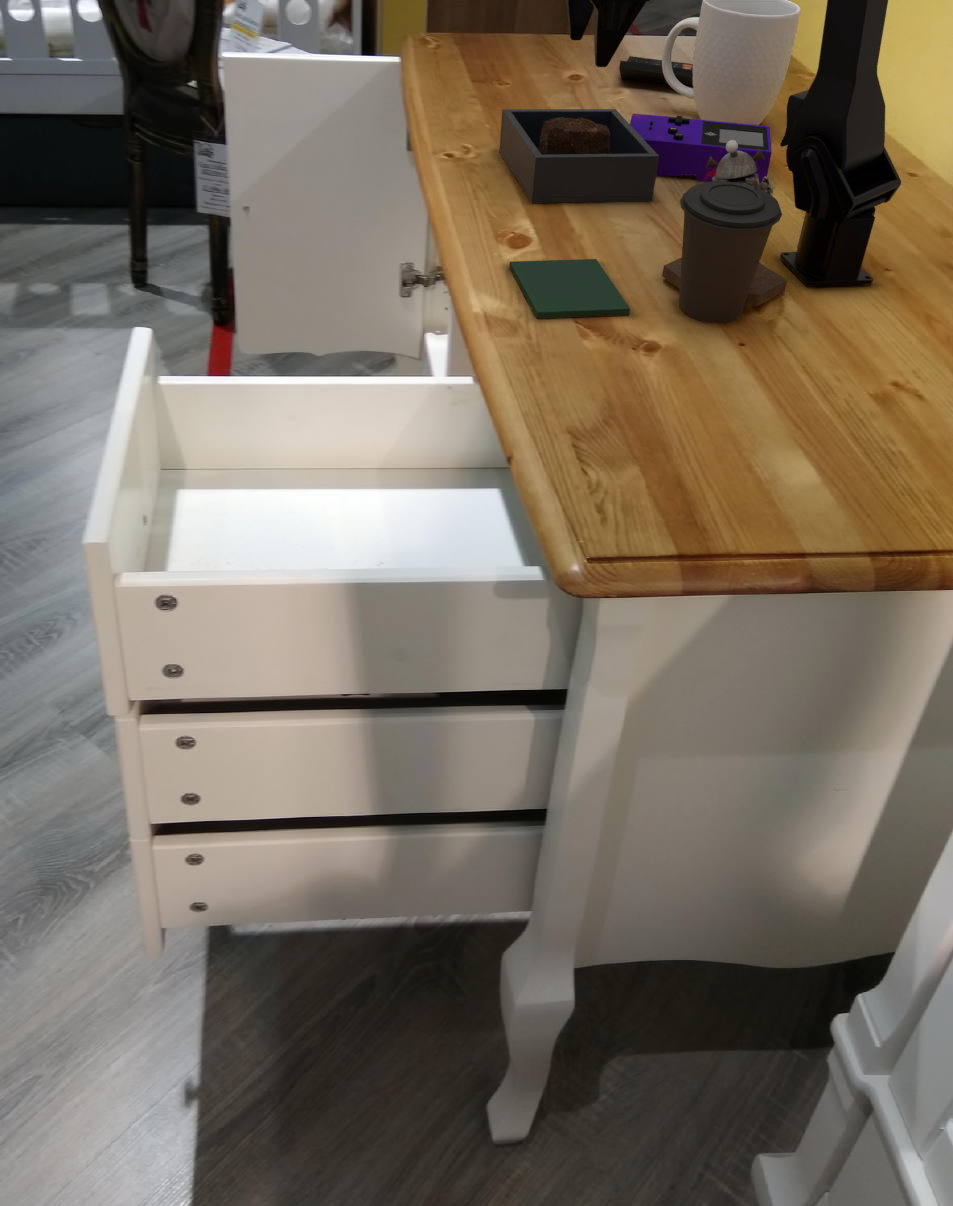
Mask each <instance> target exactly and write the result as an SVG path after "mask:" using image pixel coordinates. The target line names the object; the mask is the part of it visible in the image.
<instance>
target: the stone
mask: <svg viewBox="0 0 953 1206" xmlns="http://www.w3.org/2000/svg"><path fill="white" fill-rule="evenodd" d="M610 137H611V134H610V131H609V129H608V127H607V126H605V125H601V124H597V123H594V122H593V121H591V120H588V119H585V118H579V119H573V118H564V117H559V118H554V119H550V120H547V121H545V122H544V125H543V127H542V131H541V134H540V139H539V147H538V151H539V152H540V153H541V155H559V154H610Z"/></svg>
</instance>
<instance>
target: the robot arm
mask: <svg viewBox="0 0 953 1206" xmlns="http://www.w3.org/2000/svg"><path fill="white" fill-rule="evenodd" d="M650 1H651V0H565V8H566V15H567V16H566V17H567V23H568V33H569V38H570V40H571V41H582V39H583V37H584V34H585V32H586V30H587V28H588V25H589V22H590V20H591V18H592V15H593V30H594V31H593V37H594V39H593V40H594V41H593V43H594V44H593V46H594V65H595V66H596V67H597V68H606V67H608V65H609V64H610V62H611V60H612V59H613V57H614V55H615V53H616V52H617V50H618V48H619V47H620V45H621V43H622V42H623V40H624V38H625V36H626V34H627V33H628V31H629V30H630V28H631V27H632V25H633V23H634V22H635V20H636V19H637V17H638V16H639V14H640V12H641V11H642V10H643V8H644V6H645V4H646V3H647V2H650ZM888 4H889V0H827V1H826V9H825V15H824V23H823V30H822V35H821V43H820V51H819V57H818V64H817V65H818V66H817V71H816V74H815V75H814V78H813V80H812V82H811V84H810V86H809V88H808V89H806V90H803V91H799V92H797V93H793V94H790V95H789V96H788V100H787V105H786V127H785V131H784V136H783V137H782V139H781V141H780V145H779V146H780V147H781V148H783V147H786V151H785V161H786V166H787V169H788V171H789V172H791V173H792V183H793V197H794V205H795V208H796V209H797V210H800V211H803V212H805V214H804V218H803V221H802V226H801V230H800V235H799V239H798V242H797V246H796V251H782V252H780V256H779V259H780V260H781V261H782V262H783V263H784V264H785V265H786V266H787V267H788V268H789V269H790V270H791V272H793V274H794V275H796V277H798V278H799V280H800V281H801V282H802V283H803V284H804V285H806V286H807V287H833V286H834V287H838V286H865V285H866V286H867V285H872V284H873V281H874V277H873V276H872V275H871V274H870V273H868V271H866V270H865V269H864V268H863V267H862V266H863V263H864V258H865V255H866V252H867V250H868V249H867V248H868V245H869V241H870V238H871V235H872V231H873V227H874V223H875V221H876V216H875V214H876V212H877V211H876V207H877V206H879V205H881V204H886V203H888V202H890V201H891V199H892V198H893V197H894V195H895V194H896V193H897V191H898V190H899V188H900V187H901V185H902V180H901V177H900V176H899V173H898V171H897V169H896V167H895V165H894V163H893V161H892V158H891V157H890V155H889V153H888V151H887V149H886V145H885V141H886V102H885V99H884V94H883V91H882V88H881V85H880V84H881V83H880V79H879V77H878V65H879V60H880V59H879V58H880V52H881V46H882V42H883V41H882V40H883V36H884V35H883V34H884V30H885V23H886V17H887V10H888Z"/></svg>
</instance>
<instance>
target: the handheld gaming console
mask: <svg viewBox="0 0 953 1206" xmlns="http://www.w3.org/2000/svg"><path fill="white" fill-rule="evenodd" d="M629 124H630V125H631V126H632V127H633V128H634V130H635V131H636V132H637V133H638V134H639V135H640V136H641V137H642V138H643V139H644V140H645V141H646V143H647V144H648V145H649V146H650V147H651V148H652V149H653V150H654V151H655V152H656V153H657V154H658V155H659V160H658V167H657V173H656V176H661V177H679V176H694V178H695V180H697V181H699V182H702V183H705V182H712V181H713V180H712V177H716V169H717V167H710V168H708V169H706V167H707V163H708V160H709V158H710V156H711V157H712V159H713V160H714V161H715V162H716V163H719V162H720V160H721V159H722V158H723V157H724V156H725V155H726V154H728V151H727V150H726V144H727V143H728V142H729V141H730V140H734V141H736V142H737V144H738V149H737V151H743V152H745V153H747V154H749V155H750V156H751V157H752V158H753V157H754V156H755V155H756V153H757V151H758V148H759V149H760V151H761V152H762V154H763V156H764V158H765V160H756V161H754V162H755V163H756V167H757V171H756V172H755V174H758V179H759V183H762V180H763V178H764V176H766V177H768V172H769V167H770V163H771V158H772V152H773V151H772V137H771V136H772V135H771V126H769V125H760V124H759V125H750V124H740V123H729V122H719V121H708V120H701V119H697V118H687V117H686V118H685V117H683V115H676V116H667V115H666V116H665V115H655V114H643V113H632V114H631V118H630V122H629Z"/></svg>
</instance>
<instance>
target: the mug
mask: <svg viewBox="0 0 953 1206" xmlns="http://www.w3.org/2000/svg"><path fill="white" fill-rule="evenodd" d="M801 10H802V9H801V7H800V5H798V4H797V3H796V2H794V1H791V0H702V1H701V7H700V12H699V16H692V17H687V18H684V19H682V20H681V21H679V22H678V23H676V24H675V25H674V26H673V27H672V29H670V31H669V33H668V34H667V37H666V39H665V41H664V45H663V49H662V53H661V60H662V69H663V74H664V77H665V79H666V81H667V83H668V84H667V85H668V86H669V87H670V88H671V89H673V90H674V91H675V92H676V93H678V94H680V96H683V97H685V98H687V99H690V100H693V101H694V104H695V108H696V112H697V114H698V117H699V120H708V121H719V122H729V123H740V124H750V125H760V124H762V122H763V121H764V119H766V117H767V116H768V115H769V113H770V111H771V109H772V108H773V106H774V104H775V103H776V100H777V99H778V98H779V97H778V96H779V93H780V92H781V90H782V86H783V85H784V81H785V79H786V75H787V72H788V70H789V66H790V61H791V58H792V53H793V49H794V46H795V41H796V35H797V33H798V27H799V26H798V25H799V21H800V17H801V13H802V12H801ZM688 28H689V29H690V28H691V29H693V30H695V31H696V34H695V35H696V36H695V40H694V41H695V42H694V51H693V57H692V60H693V61H692V62H693V63H692V64H693V87H689V86H685V85H683V84H681V83H680V82H679V81H678V80H677V78H676V77H675V75H674V73H673V70H672V64H671V61H672V53H673V49H674V45H675V42H676V39H677V37H678V36H679V34H680V33H681V32H682V31H683V30H685V29H688Z"/></svg>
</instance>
